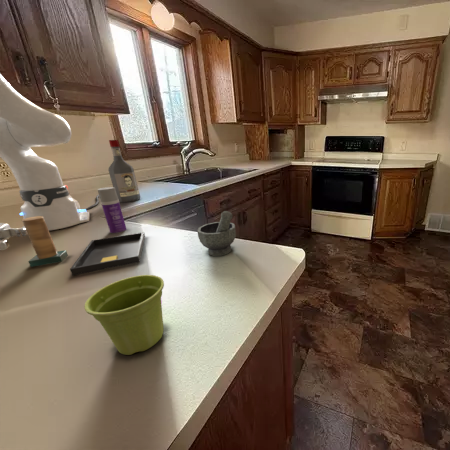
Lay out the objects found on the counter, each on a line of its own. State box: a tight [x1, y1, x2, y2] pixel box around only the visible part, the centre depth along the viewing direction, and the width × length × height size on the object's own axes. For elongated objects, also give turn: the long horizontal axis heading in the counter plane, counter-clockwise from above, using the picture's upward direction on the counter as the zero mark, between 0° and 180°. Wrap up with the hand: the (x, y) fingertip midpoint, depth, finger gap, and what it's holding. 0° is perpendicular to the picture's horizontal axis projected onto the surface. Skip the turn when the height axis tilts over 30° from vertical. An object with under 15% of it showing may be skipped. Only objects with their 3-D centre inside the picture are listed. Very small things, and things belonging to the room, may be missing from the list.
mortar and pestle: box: [197, 210, 237, 257], centre depth 65 cm, size 11×9×12 cm
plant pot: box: [83, 274, 165, 356], centre depth 36 cm, size 9×9×9 cm
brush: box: [21, 216, 69, 268], centre depth 61 cm, size 4×6×12 cm, turn 115°
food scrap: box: [101, 255, 118, 262], centre depth 61 cm, size 3×3×1 cm
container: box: [97, 186, 127, 234], centre depth 81 cm, size 5×5×15 cm
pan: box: [69, 231, 146, 276], centre depth 66 cm, size 19×13×2 cm
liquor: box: [108, 139, 141, 203], centre depth 124 cm, size 9×9×30 cm
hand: (17, 237), depth 58 cm, fingers open, 8 cm apart
